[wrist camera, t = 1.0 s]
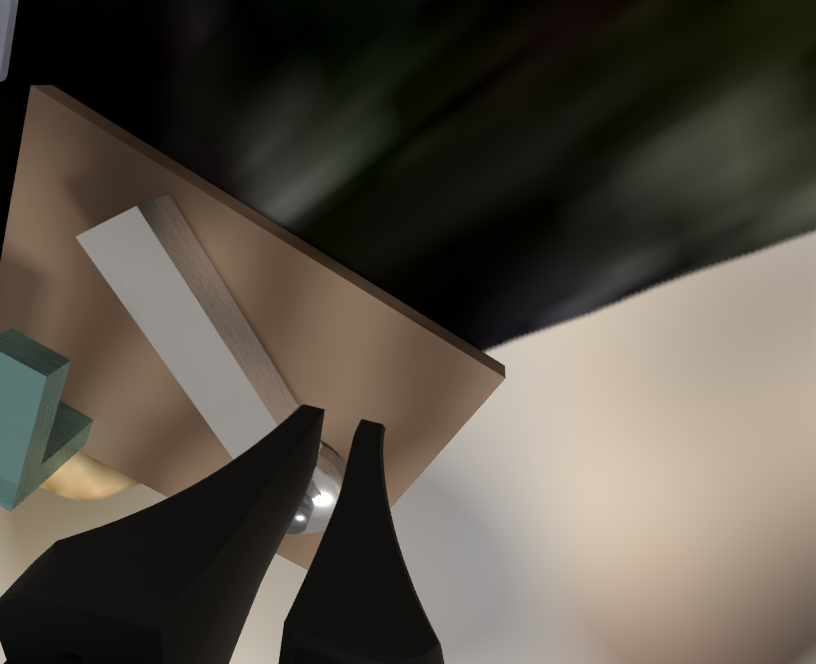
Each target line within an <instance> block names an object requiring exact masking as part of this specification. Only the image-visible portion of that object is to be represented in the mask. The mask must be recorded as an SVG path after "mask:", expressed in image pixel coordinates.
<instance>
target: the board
mask: <svg viewBox="0 0 816 664" xmlns="http://www.w3.org/2000/svg"><path fill="white" fill-rule="evenodd" d="M168 194H170V196H171V197H172V199H173V201H174V202H175V204H176V206H177V207H178V209H179V211H180V212H181V214H182V215H183V217H184V219H185V220H186V222H187V224H188V225H189V227H190V229H191V230H192V232H193V233H194V235H195V237H196V238H197V240H198V242H199V243H200V245H201V247H202V248H203V250H204V252H205V253H206V255H207V256H208V258H209V260H210V261H211V263H212V265H213V266H214V268H215V270H216V271H217V273H218V274H219V276H220V278H221V279H222V281H223V283H224V284H225V286H226V288H227V289H228V291H229V292H230V294H231V296H232V297H233V299H234V301H235V302H236V304H237V306H238V307H239V309H240V311H241V312H242V314H243V315H244V317H245V319H246V320H247V322H248V324H249V325H250V327H251V329H252V330H253V332H254V333H255V335H256V337H257V338H258V340H259V342H260V343H261V345H262V347H263V348H264V350H265V352H266V353H267V355H268V356H269V358H270V360H271V361H272V363H273V365H274V366H275V368H276V370H277V371H278V373H279V374H280V376H281V378H282V379H283V381H284V383H285V384H286V386H287V388H288V389H289V391H290V392H291V394H292V396H293V397H294V399H295V401H296V402H297V404H298V406H301V405H303V404H306V405H310V406H314V407H318V408H321V409H325V413H324V420H323V426H322V433H321V440H320V442H321V443H322V445H323V446H325V447H327V448H329V449H330V450H332V451H333V452H334V453H336V454H337V455H338V456H339V457H340V459H341V460H342V461H343V463H344V464H345V466H347V461H348V457H349V453H350V449H351V445H352V441H353V436H354V433H355V431H356V429H357V427H358V425H359V422H360V420H361V419H365V420H369V421H372V422H376V423H380V424H383V425H384V427H385V428H386V430H385V434H384V443H383V459H384V472H385V481H386V489H387V496H388V501H389V507H390V508H391V507H392V506H393V505H394V503H395V502H396V501H397V500H398V499H399V498H400V496H401V495H402V494H403V493H404V492H405V491H406V490H407V489H408V488H409V487H410V485H411V484H412V483H413V482H414V481H415V480H416V479H417V478H418V476H419V475H420V474H421V473H422V472H423V471H424V470H425V468H426V467H427V466H428V465H429V464H430V463H431V462H432V460H433V459H434V458H435V457H436V456H437V455H438V454H439V453H440V451H441V450H442V449H443V448H444V447H445V446H446V445H447V444H448V442H449V441H450V440H451V439H452V438H453V437H454V436H455V434H456V433H457V432H458V431H459V430H460V429H461V428H462V427H463V425H464V424H465V423H466V422H467V421H468V420H469V419H470V417H471V416H472V415H473V414H474V413H475V412H476V411H477V410H478V409H479V407H480V406H481V405H482V404H483V403H484V402H485V401H486V400H487V398H488V397H489V396H490V395H491V394H492V393H493V392H494V391H495V389H496V388H497V387H498V386H499V385H500V383H501V382H502V381H503V380H504V379H505V366H504V365H502V364H501V363H499V362H498V361H496V360H495V359H493V358H491V357H490V356H488V355H486V354H485V353H483V352H482V351H480V350H478V349H477V348H475V347H474V346H472V345H470V344H469V343H467V342H466V341H464V340H462V339H461V338H459V337H457V336H456V335H454V334H453V333H451V332H449V331H448V330H446V329H445V328H443V327H441V326H440V325H438V324H437V323H435V322H433V321H432V320H430V319H428V318H427V317H425V316H424V315H422V314H420V313H419V312H417V311H416V310H414V309H412V308H411V307H409V306H408V305H406V304H404V303H403V302H401V301H399V300H398V299H396V298H395V297H393V296H391V295H390V294H388V293H387V292H385V291H383V290H382V289H380V288H379V287H377V286H375V285H374V284H372V283H370V282H369V281H367V280H366V279H364V278H362V277H361V276H359V275H358V274H356V273H354V272H353V271H351V270H350V269H348V268H346V267H345V266H343V265H341V264H340V263H338V262H337V261H335V260H333V259H332V258H330V257H329V256H327V255H325V254H324V253H322V252H321V251H319V250H317V249H316V248H314V247H312V246H311V245H309V244H308V243H306V242H304V241H303V240H301V239H300V238H298V237H296V236H295V235H293V234H292V233H290V232H288V231H287V230H285V229H283V228H282V227H280V226H279V225H277V224H275V223H274V222H272V221H271V220H269V219H267V218H266V217H264V216H263V215H261V214H259V213H258V212H256V211H254V210H253V209H251V208H250V207H248V206H246V205H245V204H243V203H242V202H240V201H238V200H237V199H235V198H234V197H232V196H230V195H229V194H227V193H225V192H224V191H222V190H221V189H219V188H217V187H216V186H214V185H213V184H211V183H209V182H208V181H206V180H204V179H203V178H201V177H200V176H198V175H196V174H195V173H193V172H192V171H190V170H188V169H187V168H185V167H184V166H182V165H180V164H179V163H177V162H175V161H174V160H172V159H171V158H169V157H167V156H166V155H164V154H163V153H161V152H159V151H158V150H156V149H155V148H153V147H151V146H150V145H148V144H146V143H145V142H143V141H142V140H140V139H138V138H137V137H135V136H134V135H132V134H130V133H129V132H127V131H126V130H124V129H122V128H121V127H119V126H117V125H116V124H114V123H113V122H111V121H109V120H108V119H106V118H105V117H103V116H101V115H100V114H98V113H97V112H95V111H93V110H92V109H90V108H88V107H87V106H85V105H84V104H82V103H80V102H79V101H77V100H76V99H74V98H72V97H71V96H69V95H68V94H66V93H64V92H63V91H61V90H59V89H58V88H56V87H55V86H53V85H31V88H30V94H29V99H28V105H27V111H26V117H25V123H24V128H23V134H22V140H21V146H20V151H19V157H18V163H17V169H16V175H15V180H14V186H13V192H12V198H11V204H10V209H9V215H8V221H7V227H6V232H5V238H4V244H3V250H2V256H1V261H0V334H2V333H4V332H6V331H8V330H10V329H11V328H13V329H15V330H17V331H19V332H20V333H22V334H24V335H26V336H28V337H30V338H31V339H33V340H35V341H37V342H39V343H40V344H42V345H44V346H46V347H48V348H50V349H51V350H53V351H55V352H57V353H59V354H61V355H62V356H64V357H66V358H68V359H70V360H71V363H70V366H69V370H68V373H67V376H66V380H65V383H64V387H63V390H62V394H61V397H60V401H59V402H61V403H63V404H65V405H67V406H68V407H70V408H72V409H74V410H76V411H78V412H80V413H82V414H84V415H85V416H87V417H89V418H91V419H93V420H94V421H93V424H92V427H91V430H90V433H89V436H88V438H87V441H86V444H85V445H84V446H83V447H82V448H81V449H80V450H79V451H81V452H83V453H85V454H86V455H88V456H90V457H92V458H94V459H96V460H98V461H100V462H102V463H104V464H106V465H108V466H109V467H111V468H113V469H115V470H117V471H119V472H121V473H123V474H125V475H127V476H129V477H131V478H132V479H134V480H136V481H138V482H140V483H142V484H144V485H146V486H148V487H150V488H152V489H154V490H155V491H158V492H159V493H161V494H163V495H165V496H167V497H171V496H173V495H175V494H177V493H179V492H181V491H183V490H184V489H186V488H188V487H190V486H192V485H194V484H196V483H197V482H199V481H201V480H202V479H204V478H206V477H208V476H209V475H211V474H212V473H214V472H216V471H217V470H219V469H220V468H222V467H223V466H225V465H227V464H228V463H229V462H231V461H232V460H233V458H232V457H231V456H230V454H229V453H228V451H227V450H226V449H225V447H224V446H223V444H222V443H221V442H220V440H219V439H218V437H217V436H216V434H215V433H214V432H213V430H212V429H211V427H210V426H209V425H208V423H207V422H206V420H205V419H204V418H203V416H202V415H201V413H200V412H199V411H198V409H197V408H196V406H195V405H194V403H193V402H192V401H191V399H190V398H189V396H188V395H187V394H186V392H185V391H184V389H183V388H182V387H181V385H180V384H179V382H178V381H177V379H176V378H175V377H174V375H173V374H172V372H171V371H170V370H169V368H168V367H167V365H166V364H165V363H164V361H163V360H162V358H161V357H160V355H159V354H158V353H157V351H156V350H155V348H154V347H153V346H152V344H151V343H150V341H149V340H148V339H147V337H146V336H145V334H144V333H143V331H142V330H141V329H140V327H139V326H138V324H137V323H136V322H135V320H134V319H133V317H132V316H131V315H130V313H129V312H128V310H127V309H126V307H125V306H124V305H123V303H122V302H121V300H120V299H119V298H118V296H117V295H116V293H115V292H114V291H113V289H112V288H111V286H110V285H109V284H108V282H107V281H106V279H105V278H104V276H103V275H102V274H101V272H100V271H99V269H98V268H97V267H96V265H95V264H94V262H93V261H92V260H91V258H90V257H89V255H88V254H87V252H86V251H85V250H84V248H83V247H82V245H81V244H80V243H79V241H78V240H77V238H76V236H78V235H80V234H82V233H84V232H86V231H88V230H90V229H92V228H94V227H96V226H97V225H99V224H101V223H103V222H105V221H107V220H109V219H111V218H113V217H115V216H117V215H119V214H121V213H123V212H125V211H127V210H129V209H131V208H133V207H135V206H137V205H140V204H143V203H146V202H148V201H151V200H154V199H157V198H160V197H162V196H165V195H168ZM325 530H326V529H325ZM325 530H323V531H321V532H317V533H312V534H300V533H299V534H294V535H291V534H285V536H284V538H283V540H282V542H281V543H280V545H279V547H278V549H277V551H276V554H278V555H280V556H282V557H284V558H286V559H288V560H290V561H292V562H294V563H295V564H298V565H299V566H301V567H303V568H305V569H307V570H309V568H310V565H311V563H312V561H313V558H314V556H315V554H316V552H317V549H318V547H319V544H320V542H321V540H322V537H323V535H324V532H325Z"/></svg>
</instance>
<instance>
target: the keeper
mask: <svg viewBox="0 0 816 664" xmlns="http://www.w3.org/2000/svg"><path fill="white" fill-rule="evenodd" d="M70 363H71V360H70V359H68V358H66V357H64V356H62V355H61V354H59V353H57V352H55V351H53V350H51V349H50V348H48V347H46V346H44V345H42V344H40V343H39V342H37V341H35V340H33V339H31V338H30V337H28V336H26V335H24V334H22V333H20V332H19V331H17V330H15V329H13V328H11V329H10V330H8V331H6V332H4V333H2V334H0V506H1V507H3V508H5V509H7V510H9V511H13V509H15V508H16V507H17V506H18V505H19V504H20V503H21V502H22V501H24V500H25V499H26V498H27V497H28V496H29V495H30V494H31V493H32V492H33V491H35V490H36V489H37V488H38V487H39V486H40V485H41V484H42V483H43V482H45V481H46V480H47V479H48V478H49V477H50V476H51V475H52V474H53V473H54V472H56V471H57V470H58V469H59V468H60V467H61V466H62V465H63V464H64V463H65V462H67V461H68V460H69V459H70V458H71V457H72V456H73V455H74V454H75V453H76V452H78V451H79V450H80V449H81V448H82V447H83V446H84V445H85V444H86V441H87V438H88V436H89V433H90V430H91V427H92V424H93V421H94V420H93V419H91V418H89V417H87V416H85V415H84V414H82V413H80V412H78V411H76V410H74V409H72V408H70V407H68V406H67V405H65V404H63V403H61V402H59V401H60V397H61V394H62V390H63V387H64V383H65V380H66V376H67V373H68V370H69V366H70Z"/></svg>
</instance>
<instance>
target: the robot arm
mask: <svg viewBox="0 0 816 664" xmlns="http://www.w3.org/2000/svg"><path fill="white" fill-rule="evenodd" d="M17 7H18V0H0V81H4V80H5V79H6V77H7V74H8V67H9V60H10V54H11V47H12V40H13V34H14V27H15V20H16V13H17ZM324 413H325V409H321V408H318V407H314V406H310V405H306V404H303V405H301V406H299V407H298V408H297V409H296V410H295V411H294V412H293V413H292V414H291V415H290V416H289V417H287V418H286V419H285V420H284V421H283V422H282V423H281V424H279V425H278V426H277V427H276V428H275V429H273V430H272V431H271V432H270V433H269V434H267V435H266V436H265V437H263V438H262V439H261V440H260V441H258V442H257V443H256V444H255V445H253V446H252V447H251V448H249V449H248V450H247V451H245V452H244V453H242V454H241V455H239V456H238V457H237V458H235V459H234V460H232V461H231V462H229V463H228V464H227V465H225V466H223V467H222V468H220V469H219V470H217V471H216V472H214V473H212V474H211V475H209V476H208V477H206V478H204V479H202V480H201V481H199V482H197V483H196V484H194V485H192V486H190V487H188V488H186V489H184V490H183V491H181V492H179V493H177V494H175V495H173V496H171V497H169V498H167V499H165V500H163V501H161V502H159V503H157V504H155V505H153V506H150V507H148V508H146V509H143V510H141V511H139V512H136V513H134V514H132V515H129V516H127V517H124V518H122V519H120V520H117V521H114V522H112V523H109V524H106V525H104V526H101V527H98V528H95V529H92V530H89V531H86V532H83V533H80V534H77V535H74V536H71V537H68V538H65V539H61V540H58V541H56V542H55V543H54V544H53V545H52V546H51V547H50V548H49V549H48V550H46V551H45V552H44V553H43V554H42V555H41V556H40V557H39V558H38V559H37V560H35V561H34V562H33V564H31V565H30V566H29V567H28V569H27V570H26V571H25V572H24V573H23V574H22V575H21V576H20V577H19V578H18V579H17V580H16V581H15V582H14V583H13V585H12V586H11V587H10V588H9V589H8V590H7V591H6V592H5V593H4V594H3V595H2V596H1V597H0V642H1V644H2V648H3V650H4V653H5V656H6V659H7V660H6V662H5V663H4V664H229V662H230V659H231V657H232V654H233V652H234V649H235V646H236V644H237V641H238V639H239V636H240V634H241V631H242V629H243V626H244V624H245V621H246V618H247V616H248V614H249V611H250V609H251V606H252V604H253V601H254V599H255V596H256V594H257V591H258V589H259V586H260V584H261V582H262V579H263V577H264V575H265V573H266V571H267V569H268V567H269V565H270V563H271V561H272V559H273V557H274V555H275V553H276V551H277V549H278V547H279V545H280V543H281V542H282V540H283V538H284V536H285V534H286V532H287V530H288V528H289V526H290V524H291V522H292V520H293V518H294V516H295V514H296V512H297V510H298V508H299V507H300V505H301V503H302V501H303V499H304V497H305V494H306V491H307V489H308V486H309V484H310V481H311V478H312V476H313V473H314V470H315V468H316V465H317V460H318V453H319V446H320V440H321V433H322V426H323V420H324ZM385 430H386V428H385V427H384V425H383V424H380V423H376V422H372V421H369V420H365V419H361V420H360V422H359V425H358V427H357V429H356V431H355V433H354V436H353V441H352V445H351V449H350V453H349V457H348V461H347V466H346V470H345V474H344V478H343V482H342V486H341V490H340V493H339V497H338V500H337V502H336V505H335V507H334V510H333V512H332V515H331V517H330V520H329V523H328V525H327V527H326V530H325V532H324V535H323V537H322V540H321V542H320V544H319V547H318V549H317V552H316V554H315V556H314V558H313V561H312V563H311V565H310V568H309V570H308V572H307V575H306V577H305V579H304V581H303V584H302V586H301V588H300V590H299V593H298V594H297V596H296V599H295V601H294V603H293V605H292V607H291V609H290V611H289V613H288V616H287V618H286V620H285V622H284V628H283V635H282V642H281V650H280V657H279V664H444V660H443V654H442V649H441V644H440V642H439V640H438V638H437V636H436V634H435V632H434V630H433V628H432V626H431V624H430V622H429V620H428V618H427V616H426V614H425V612H424V610H423V607H422V605H421V603H420V600H419V598H418V596H417V593H416V591H415V589H414V586H413V583H412V581H411V578H410V575H409V573H408V570H407V567H406V565H405V562H404V560H403V556H402V553H401V550H400V547H399V543H398V540H397V536H396V533H395V529H394V525H393V521H392V516H391V512H390V507H389V501H388V496H387V489H386V481H385V472H384V459H383V443H384V434H385Z"/></svg>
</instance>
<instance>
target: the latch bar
mask: <svg viewBox="0 0 816 664" xmlns="http://www.w3.org/2000/svg"><path fill="white" fill-rule="evenodd" d="M76 238H77V240H78V241H79V243H80V244H81V245H82V247H83V248H84V250H85V251H86V252H87V254H88V255H89V257H90V258H91V260H92V261H93V262H94V264H95V265H96V267H97V268H98V269H99V271H100V272H101V274H102V275H103V276H104V278H105V279H106V281H107V282H108V284H109V285H110V286H111V288H112V289H113V291H114V292H115V293H116V295H117V296H118V298H119V299H120V300H121V302H122V303H123V305H124V306H125V307H126V309H127V310H128V312H129V313H130V315H131V316H132V317H133V319H134V320H135V322H136V323H137V324H138V326H139V327H140V329H141V330H142V331H143V333H144V334H145V336H146V337H147V339H148V340H149V341H150V343H151V344H152V346H153V347H154V348H155V350H156V351H157V353H158V354H159V355H160V357H161V358H162V360H163V361H164V363H165V364H166V365H167V367H168V368H169V370H170V371H171V372H172V374H173V375H174V377H175V378H176V379H177V381H178V382H179V384H180V385H181V387H182V388H183V389H184V391H185V392H186V394H187V395H188V396H189V398H190V399H191V401H192V402H193V403H194V405H195V406H196V408H197V409H198V411H199V412H200V413H201V415H202V416H203V418H204V419H205V420H206V422H207V423H208V425H209V426H210V427H211V429H212V430H213V432H214V433H215V434H216V436H217V437H218V439H219V440H220V442H221V443H222V444H223V446H224V447H225V449H226V450H227V451H228V453H229V454H230V456H231V457H232V458H233V460H234V459H235V458H237V457H238V456H239V455H241V454H242V453H244V452H245V451H247V450H248V449H249V448H251V447H252V446H253V445H255V444H256V443H257V442H258V441H260V440H261V439H262V438H263V437H265V436H266V435H267V434H269V433H270V432H271V431H272V430H273V429H275V428H276V427H277V426H278V425H279V424H281V423H282V422H283V421H284V420H285V419H286V418H287V417H289V416H290V415H291V414H292V413H293V412H294V411H295V410H296V409H297V408H298V407H299V406H298V404H297V402H296V401H295V399H294V397H293V396H292V394H291V392H290V391H289V389H288V388H287V386H286V384H285V383H284V381H283V379H282V378H281V376H280V374H279V373H278V371H277V370H276V368H275V366H274V365H273V363H272V361H271V360H270V358H269V356H268V355H267V353H266V352H265V350H264V348H263V347H262V345H261V343H260V342H259V340H258V338H257V337H256V335H255V333H254V332H253V330H252V329H251V327H250V325H249V324H248V322H247V320H246V319H245V317H244V315H243V314H242V312H241V311H240V309H239V307H238V306H237V304H236V302H235V301H234V299H233V297H232V296H231V294H230V292H229V291H228V289H227V288H226V286H225V284H224V283H223V281H222V279H221V278H220V276H219V274H218V273H217V271H216V270H215V268H214V266H213V265H212V263H211V261H210V260H209V258H208V256H207V255H206V253H205V252H204V250H203V248H202V247H201V245H200V243H199V242H198V240H197V238H196V237H195V235H194V233H193V232H192V230H191V229H190V227H189V225H188V224H187V222H186V220H185V219H184V217H183V215H182V214H181V212H180V211H179V209H178V207H177V206H176V204H175V202H174V201H173V199H172V197H171V196H170V194H168V195H165V196H162V197H160V198H157V199H154V200H151V201H148V202H146V203H143V204H140V205H137V206H135V207H133V208H131V209H129V210H127V211H125V212H123V213H121V214H119V215H117V216H115V217H113V218H111V219H109V220H107V221H105V222H103V223H101V224H99V225H97V226H96V227H94V228H92V229H90V230H88V231H86V232H84V233H82V234H80V235H78V236H76ZM345 470H346V466H345V464H344V463H343V461H342V460H341V459H340V457H339V456H338V455H337V454H336V453H334V452H333V451H332V450H330V449H329V448H327V447H325V446H323V445H322V443H321V442H320V446H319V453H318V460H317V465H316V468H315V470H314V473H313V476H312V478H311V481H310V484H309V486H308V489H307V491H306V494H305V497H304V499H303V501H302V503H301V505H300V507H299V508H298V510H297V512H296V514H295V516H294V518H293V520H292V522H291V524H290V526H289V528H288V530H287V532H286V534H291V535H294V534H299V533H300V534H312V533H317V532H321V531H323V530H325V529H326V527H327V525H328V523H329V520H330V517H331V515H332V512H333V510H334V507H335V505H336V502H337V500H338V497H339V493H340V490H341V486H342V482H343V478H344V474H345Z"/></svg>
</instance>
